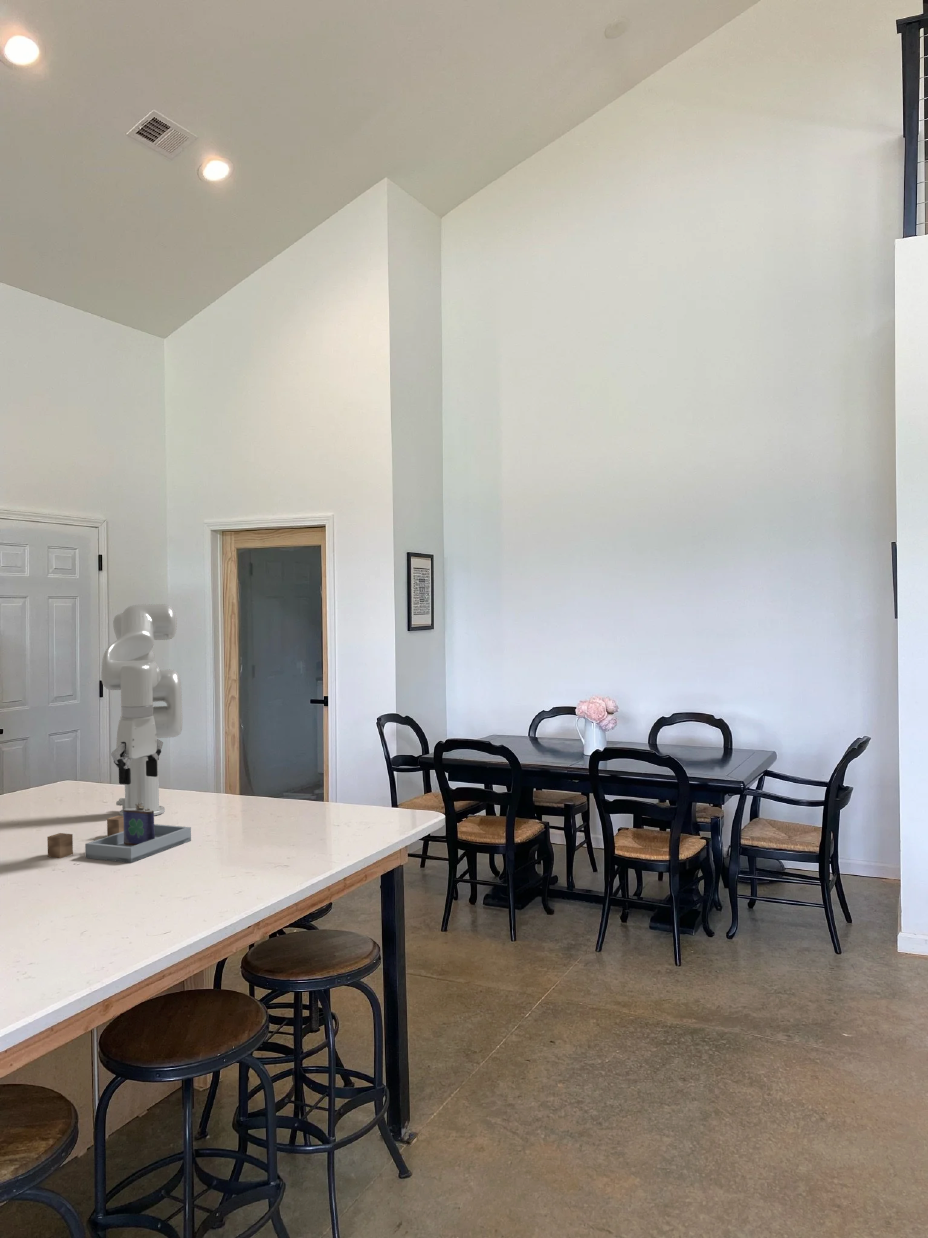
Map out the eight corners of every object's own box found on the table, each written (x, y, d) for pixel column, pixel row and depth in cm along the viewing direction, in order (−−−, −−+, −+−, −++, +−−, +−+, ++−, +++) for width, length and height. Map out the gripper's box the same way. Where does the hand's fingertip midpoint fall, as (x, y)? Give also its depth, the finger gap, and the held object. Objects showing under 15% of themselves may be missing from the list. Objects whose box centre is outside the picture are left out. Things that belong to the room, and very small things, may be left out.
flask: (121, 844, 231) (120, 802, 230) (129, 842, 233) (129, 800, 233) (150, 848, 227) (149, 804, 227) (158, 845, 230) (157, 802, 230)
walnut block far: (107, 837, 243) (107, 818, 243) (118, 834, 246) (118, 815, 246) (119, 838, 241) (118, 820, 241) (130, 835, 245) (129, 816, 245)
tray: (85, 858, 222) (85, 843, 222) (147, 836, 243) (147, 823, 243) (131, 863, 217) (130, 848, 217) (191, 840, 238) (190, 827, 238)
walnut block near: (47, 857, 224) (47, 836, 224) (60, 852, 228) (60, 832, 228) (60, 858, 223) (59, 838, 223) (72, 854, 226) (72, 834, 226)
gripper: (148, 707, 239) (150, 772, 240) (100, 716, 223) (101, 786, 224) (172, 708, 236) (173, 774, 237) (124, 717, 220) (126, 788, 221)
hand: (138, 780), depth 230 cm, fingers open, 9 cm apart
